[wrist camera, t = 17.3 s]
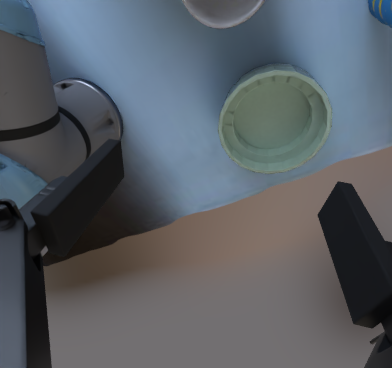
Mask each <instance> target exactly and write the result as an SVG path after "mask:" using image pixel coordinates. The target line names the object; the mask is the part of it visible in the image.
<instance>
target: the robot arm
mask: <svg viewBox="0 0 392 368" xmlns="http://www.w3.org/2000/svg"><path fill="white" fill-rule="evenodd" d="M44 46H46V44H45V42H44V41H43V40H42V36H41V33H40V30H39V26H38V23H37V19H36V15H35V12H34V10H33V8H32V6H31V5H30V4H29V2H28V1H27V0H0V368H52V366H51V354H50V342H49V330H48V319H47V306H46V294H45V283H44V271H43V259H42V254H41V251H42V250H43V249H44V247H45V246H46V247H47V249H48V251H49V253H50V254H55V255H59V256H63V257H65V256H66V254H67V253H68V252H69V250H70V249H71V248H72V246H73V245H74V244H75V242H76V241H77V240H78V238H79V237H80V236H81V234H82V233H83V232H84V230H85V229H86V228H87V226H88V225H89V223H90V222H91V221H92V219H93V218H94V217H95V215H96V214H97V213H98V211H99V210H100V209H101V207H102V206H103V205H104V203H105V202H106V201H107V199H108V198H109V197H110V195H111V194H112V192H113V191H114V190H115V188H116V187H117V186H118V184H119V183H120V182H121V180H122V179H123V178H124V168H123V158H122V149H121V141H120V140H121V138H122V134H123V123H122V118H121V115H120V112H119V110H118V108H117V106H116V105H115V103H114V102H113V100H112V99H111V98H110V97H109V96H108V94H107V93H106V92H104V91H103V90H102V89H101V88H100V87H98V86H97V85H95V84H93V83H91V82H89V81H87V80H84V79H79V78H69V79H65V80H62V81H60V82H58V83H56V84H54V85H53V83H52V79H51V74H50V69H49V65H48V60H47V56H46V51H45V47H44ZM318 218H319V221H320V224H321V227H322V230H323V233H324V236H325V239H326V242H327V245H328V248H329V251H330V254H331V257H332V260H333V263H334V266H335V269H336V272H337V275H338V278H339V281H340V284H341V288H342V290H343V293H344V296H345V299H346V303H347V306H348V309H349V312H350V315H351V318H352V321H353V324H356V325H360V326H364V327H368V328H374V327H375V326H376V325H378V324H379V323H382V325H383V328H384V330H385V332H383V333H381V334H380V335H378V336H377V337H375V338H374V339H372V340H371V341H370V343H371V344H374V343H375V342H376V345H375V347H374V349H373V351H372V353H371V355H370V357H369V359H368V361H367V363H366V365H365V367H364V368H392V242H388V241H385V240H384V239H383V237H382V235H381V233H380V232H379V230H378V228H377V227H376V225H375V223H374V221H373V220H372V218H371V216H370V215H369V213H368V211H367V209H366V208H365V206H364V205H363V203H362V201H361V199H360V197H359V196H358V194H357V192H356V191H355V189H354V187H353V186H352V184H349V183H344V182H337V184H336V185H335V187H334V189H333V190H332V192H331V194H330V196H329V197H328V199H327V200H326V202H325V204H324V205H323V207H322V209H321V210H320V212H319V213H318Z"/></svg>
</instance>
